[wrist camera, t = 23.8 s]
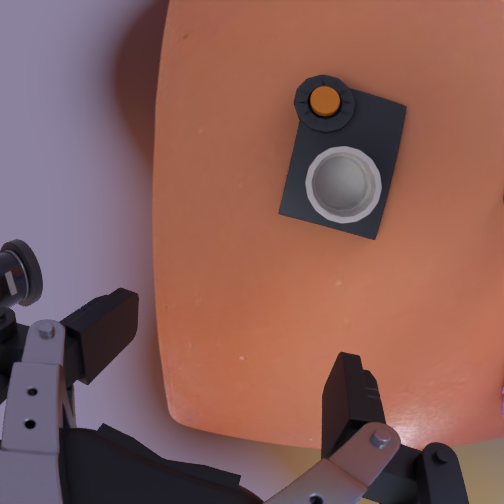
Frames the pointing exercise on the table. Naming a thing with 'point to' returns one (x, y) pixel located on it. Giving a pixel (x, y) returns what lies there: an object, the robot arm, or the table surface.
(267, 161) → the table surface
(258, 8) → the table surface
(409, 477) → the robot arm
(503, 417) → the teapot
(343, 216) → the white round cup
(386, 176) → the dark grey flat slab
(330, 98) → the button
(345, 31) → the table surface
